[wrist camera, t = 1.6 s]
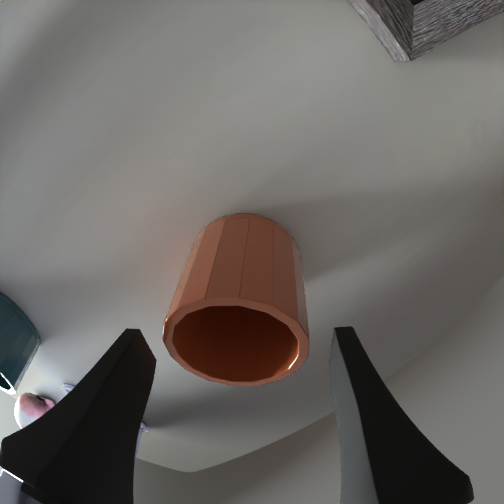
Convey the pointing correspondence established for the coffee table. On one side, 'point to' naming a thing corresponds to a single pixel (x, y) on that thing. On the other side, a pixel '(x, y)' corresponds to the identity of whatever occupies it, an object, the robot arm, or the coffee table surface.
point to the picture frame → (422, 22)
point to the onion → (31, 408)
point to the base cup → (15, 344)
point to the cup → (240, 304)
